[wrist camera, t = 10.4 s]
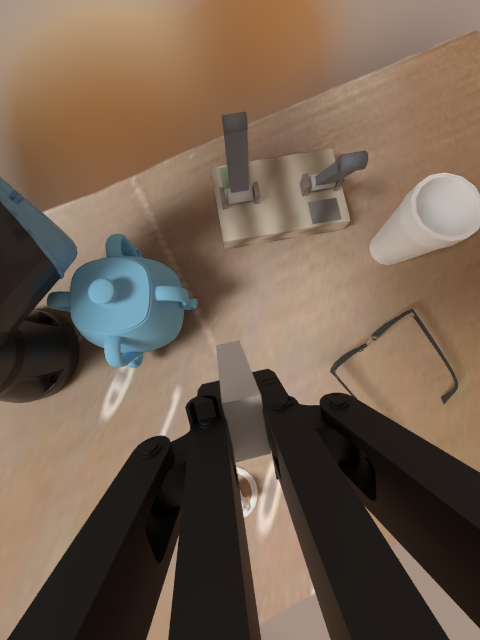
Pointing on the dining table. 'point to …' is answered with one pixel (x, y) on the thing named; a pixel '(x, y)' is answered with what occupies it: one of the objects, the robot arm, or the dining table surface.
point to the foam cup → (428, 219)
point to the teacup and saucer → (254, 489)
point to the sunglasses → (380, 332)
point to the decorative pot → (125, 303)
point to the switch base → (280, 201)
